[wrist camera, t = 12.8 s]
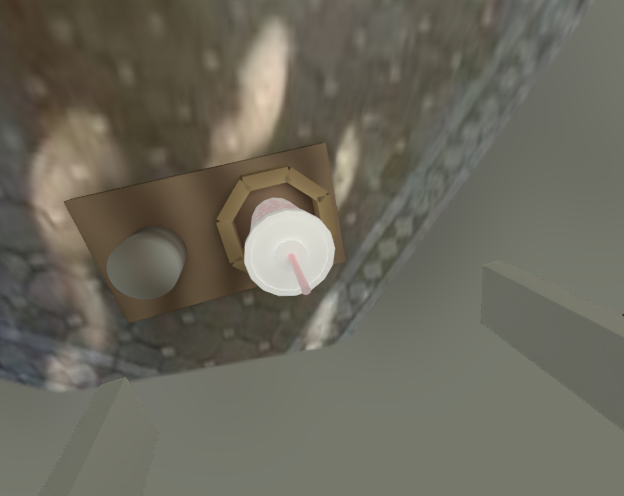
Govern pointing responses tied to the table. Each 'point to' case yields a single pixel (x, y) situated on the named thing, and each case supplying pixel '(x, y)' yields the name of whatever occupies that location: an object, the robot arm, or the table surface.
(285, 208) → the beverage cup
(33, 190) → the table surface
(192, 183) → the fitting board
